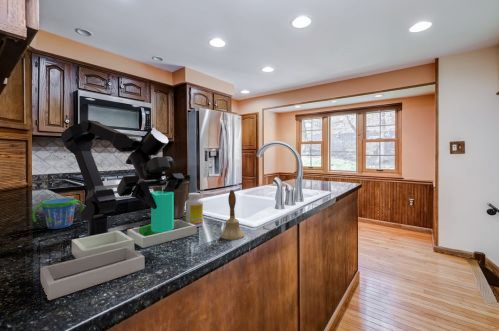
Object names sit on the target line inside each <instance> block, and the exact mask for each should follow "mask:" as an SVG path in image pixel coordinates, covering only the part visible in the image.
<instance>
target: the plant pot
mask: <svg viewBox="0 0 499 331" xmlns="http://www.w3.org/2000/svg"><path fill="white" fill-rule="evenodd" d="M189 184H190V181H189V180H188V181H187V180H184V181H183V183H182V184H181V186H180V187H179V189H177V190H175V191H174V197H175V205H174V220H178V219H181V218H183V217H184V216H185V212H186V201H187V200H186V199H187V191H188V188H189V187H188V186H189ZM163 190H164V189H163ZM152 191H153V192H155V191H162V186H161V187H152Z"/></svg>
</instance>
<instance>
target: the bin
mask: <svg viewBox="0 0 499 331" xmlns="http://www.w3.org/2000/svg"><path fill="white" fill-rule="evenodd" d="M126 246H129V247H131V248H132V249H134V250H135V243H134V239H132V238H131V237H129V236H127V234H125V233H124V232H122V231H120V230H115V231H109V233H104V234H99V235H93V236H88V237H87V236H85V237H80V238H75V239H73V238H72V239H71V255H72V256H73V257H74V259H78V258H82V257H86V256H90V255H94V254H98V253H102V252H106V251H110V250H114V249H118V248H122V247H126Z"/></svg>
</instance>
